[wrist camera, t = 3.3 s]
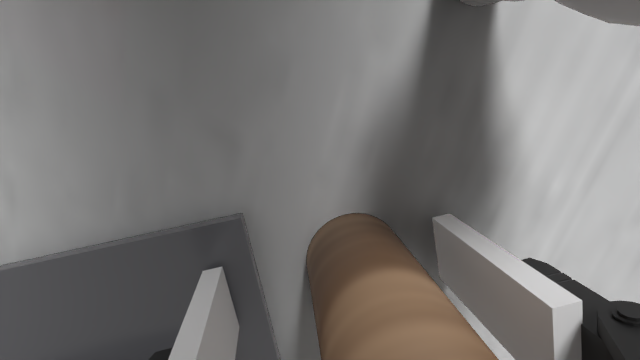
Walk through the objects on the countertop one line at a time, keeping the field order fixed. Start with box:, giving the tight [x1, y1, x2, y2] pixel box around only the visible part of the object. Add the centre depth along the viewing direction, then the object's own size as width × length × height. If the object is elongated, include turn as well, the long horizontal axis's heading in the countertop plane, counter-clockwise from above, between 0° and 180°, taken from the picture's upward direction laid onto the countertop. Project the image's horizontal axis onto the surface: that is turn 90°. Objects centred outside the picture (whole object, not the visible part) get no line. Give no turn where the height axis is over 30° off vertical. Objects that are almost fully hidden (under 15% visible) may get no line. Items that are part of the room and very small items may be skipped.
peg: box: [306, 213, 498, 360], centre depth 11 cm, size 4×4×10 cm
